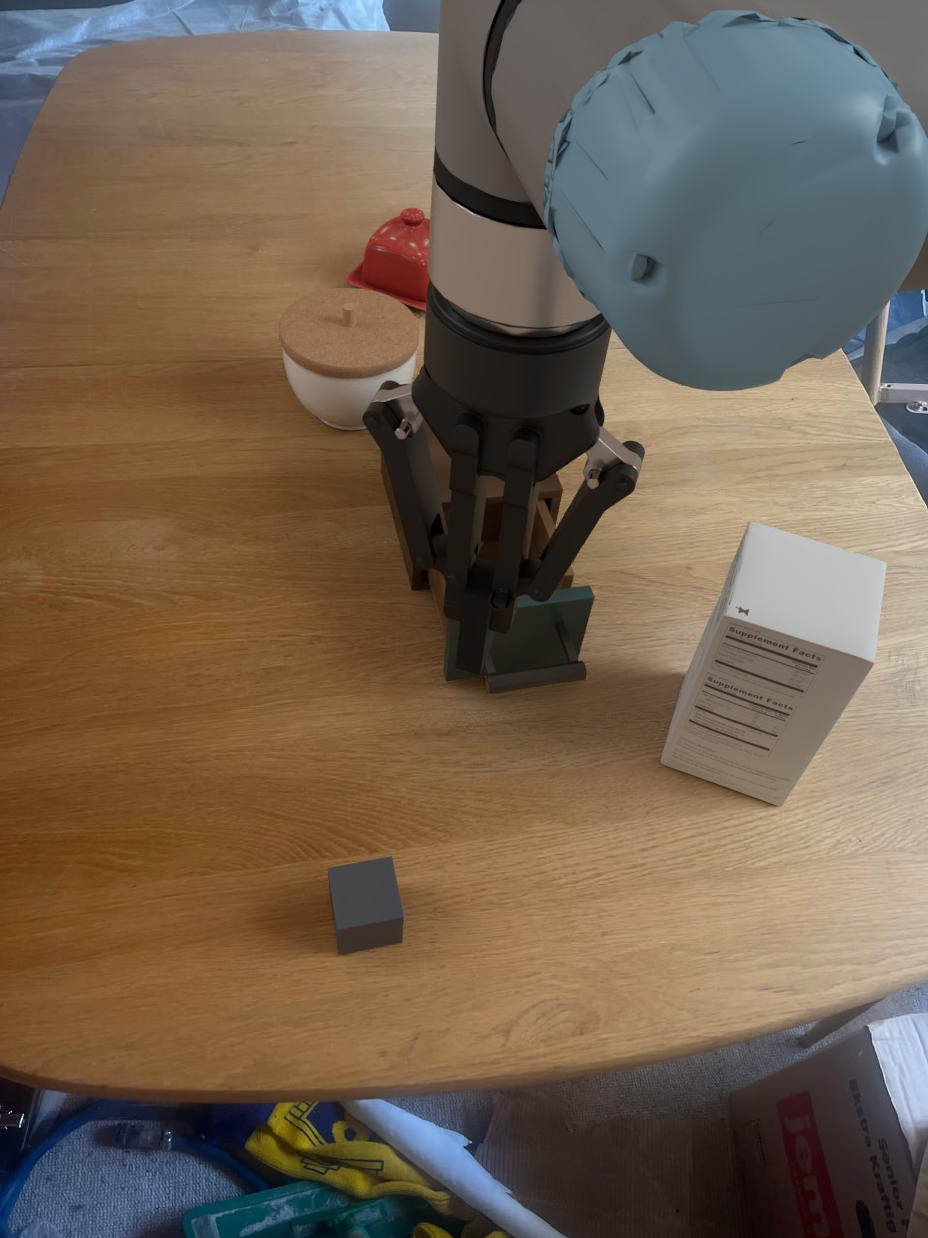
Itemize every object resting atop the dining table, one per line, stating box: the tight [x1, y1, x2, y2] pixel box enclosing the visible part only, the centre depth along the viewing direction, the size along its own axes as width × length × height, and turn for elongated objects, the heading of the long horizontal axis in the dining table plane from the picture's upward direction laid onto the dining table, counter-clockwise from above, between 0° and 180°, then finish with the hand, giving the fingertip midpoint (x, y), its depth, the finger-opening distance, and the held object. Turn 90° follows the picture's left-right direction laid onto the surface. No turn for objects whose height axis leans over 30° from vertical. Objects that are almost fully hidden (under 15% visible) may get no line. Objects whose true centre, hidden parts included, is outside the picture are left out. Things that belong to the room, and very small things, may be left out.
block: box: [327, 855, 405, 956], centre depth 59 cm, size 4×4×4 cm
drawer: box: [426, 499, 595, 695], centre depth 73 cm, size 18×10×8 cm, turn 13°
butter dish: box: [345, 207, 430, 312], centre depth 105 cm, size 12×12×8 cm
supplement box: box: [660, 520, 888, 807], centre depth 65 cm, size 10×9×17 cm
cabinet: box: [380, 384, 564, 591], centre depth 81 cm, size 15×12×10 cm
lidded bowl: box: [278, 287, 420, 431], centre depth 89 cm, size 13×13×11 cm
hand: (474, 654), depth 56 cm, fingers closed
